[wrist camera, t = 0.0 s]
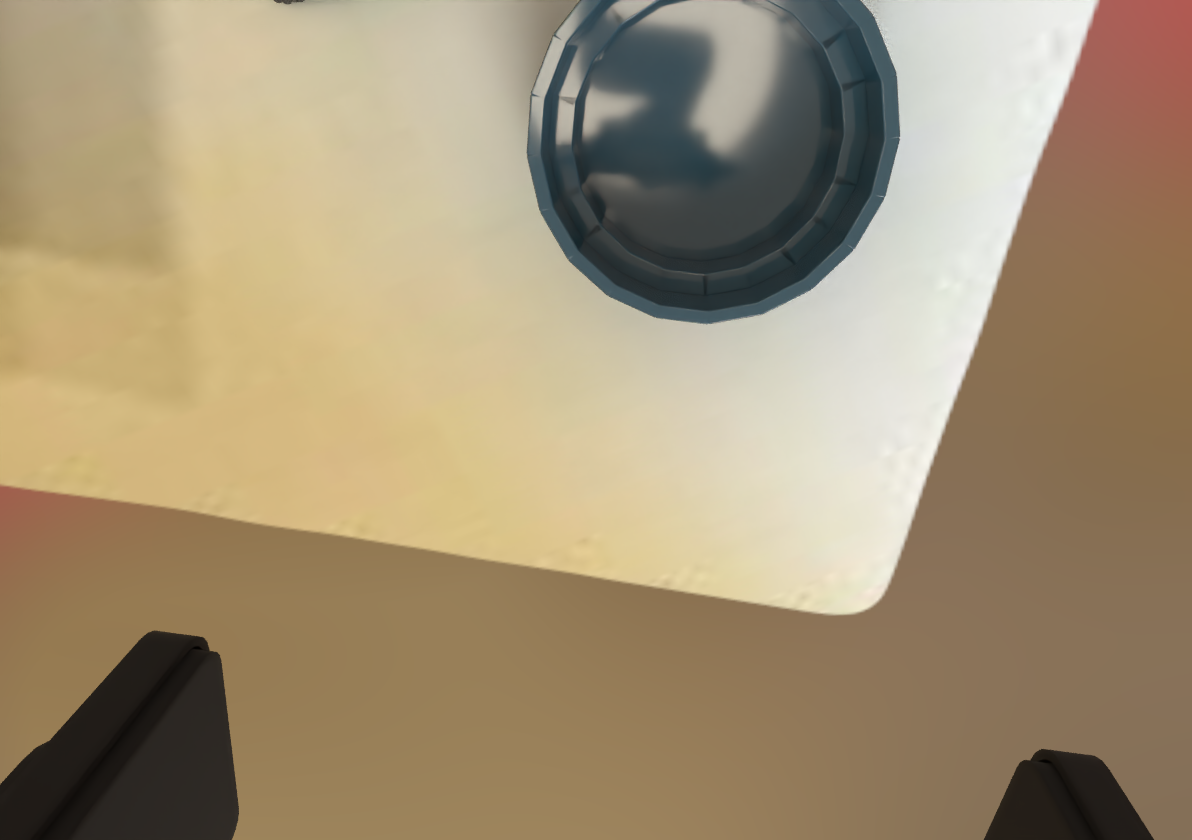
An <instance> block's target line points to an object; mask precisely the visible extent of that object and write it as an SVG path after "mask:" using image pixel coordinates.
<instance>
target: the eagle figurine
mask: <svg viewBox="0 0 1192 840" xmlns="http://www.w3.org/2000/svg"><path fill="white" fill-rule="evenodd" d="M274 1H275V2H277V3H282V2H284V3H285V4H291V2H292V1H293V2H303V1H304V0H274Z"/></svg>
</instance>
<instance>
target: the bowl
mask: <svg viewBox="0 0 1192 840" xmlns="http://www.w3.org/2000/svg"><path fill="white" fill-rule="evenodd" d="M899 137H900V125H899V106H898V87H897V76H896V71H895V68H894V66H893V63H892V61H891V58H890V56H889V53H888V51H887V48H886V45H885V43H884V40H883V38H882V35H881V33H880V30H879V28H878V25H877V23H876V20H875V18H874V16H873V14H872V13H871V12H870V11H869V10H868V8H867V7H866V6H865V5H864V4H863V3H862V2H861V1H860V0H580V1H579V2H578V3H577V5H576V6H575V7H574V9H573V10H572V11H571V12H570V14H569V15H568V16H567V17H566V19H565V20H564V21H563V23H562V24H561V25H560V26H559V28H558V29H557V30H556V31H555V33H554V35H553V36H552V39H551V41H550V44H549V47H548V49H547V52H546V55H545V57H544V60H543V62H542V65H541V68H540V70H539V73H538V76H537V78H536V81H535V84H534V86H533V89H532V91H531V96H530V111H529V126H528V141H527V159H528V163H529V167H530V172H531V176H532V180H533V185H534V189H535V193H536V197H537V202H538V206H539V210H540V211H541V215H542V216H543V218H544V220H545V221H546V223H547V225H548V227H549V228H550V230H551V232H552V233H553V235H554V237H555V239H556V240H557V242H558V244H559V245H560V247H561V249H562V250H563V252H564V254H565V256H566V257H567V259H569V261H570V262H571V263H572V264H573V265H574V266H575V267H576V268H577V269H578V270H580V271H581V272H582V273H583V274H584V275H585V276H586V277H587V278H588V279H589V280H591V281H592V282H593V283H594V284H595V285H596V286H597V287H598V288H599V289H600V290H602V291H603V292H604V293H605V294H606V295H608V296H609V297H611V298H613V299H615V300H618V301H620V302H622V303H624V304H626V305H629V306H631V307H633V308H635V309H637V310H639V311H642V312H644V313H646V314H648V315H650V316H653V317H656V318H660V319H668V320H676V321H684V322H692V323H700V324H713V323H719V322H724V321H730V320H736V319H741V318H747V317H752V316H758V315H761V314H764V313H766V312H768V311H770V310H772V309H774V308H776V307H778V306H780V305H782V304H784V303H786V302H788V301H790V300H792V299H794V298H796V297H798V296H800V295H802V294H804V293H806V292H808V291H810V290H811V289H813V288H814V287H815V286H816V285H817V284H818V283H819V282H820V281H821V280H822V279H823V278H824V277H826V276H827V275H828V274H829V273H830V272H831V271H832V270H833V269H834V268H835V267H836V266H837V265H838V264H839V263H841V262H842V261H843V260H844V259H845V258H846V257H847V256H848V255H849V254H850V253H851V252H852V251H853V249H855V247H856V246H857V244H858V242H859V241H860V239H861V237H862V236H863V234H864V232H865V231H866V229H867V227H868V226H869V224H870V222H871V220H872V219H873V217H874V215H875V214H876V212H877V210H878V209H879V207H880V205H881V204H882V202H883V200H884V197H885V196H886V192H887V188H888V184H889V180H890V176H891V172H892V168H893V164H894V160H895V156H896V152H897V148H898V144H899V140H900V139H899Z"/></svg>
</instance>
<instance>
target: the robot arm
mask: <svg viewBox="0 0 1192 840" xmlns="http://www.w3.org/2000/svg"><path fill="white" fill-rule="evenodd" d="M238 815H239V806H238V798H237V789H236V781H235V772H234V764H233V755H232V747H231V739H230V730H229V722H228V713H227V706H226V697H225V689H224V680H223V672H222V663H221V658H220V655H219V654H218V653H217V652H213V651H209V647H208V643H207V641H206V640H205V639H204V638H203V637H198V636H191V635H183V634H176V633H168V632H160V631H152V632H149V633H147V634H146V635H145V636H144V637H143V638H141V639H140V640H139V641H138V643H137V644H136V645H135V646H134V647H133V648H132V649H131V650H130V652H129V653H128V654H127V655H126V656H125V657H124V658H123V659H122V660H121V662H120V663H119V664H118V665H117V666H116V667H115V668H114V669H113V671H112V672H111V673H110V674H109V675H108V676H107V677H106V678H105V679H104V681H103V682H102V683H101V684H100V685H99V686H98V687H97V688H96V690H95V691H94V692H93V693H92V694H91V695H90V696H89V697H88V698H87V699H86V701H85V702H84V703H83V704H82V705H81V706H80V707H79V709H78V710H77V711H76V712H75V713H74V714H73V715H72V716H71V717H70V718H69V720H68V721H67V722H66V723H65V724H64V725H63V726H62V727H61V729H60V730H59V731H58V732H57V733H56V734H55V735H54V736H53V738H52V739H51V740H50V741H48V742H46V743H44V744H42V745H40V746H38V747H37V748H35V749H34V750H33V751H32V752H31V753H30V754H29V755H28V756H26V757H25V758H24V759H23V760H22V761H21V762H20V763H19V765H18V766H17V767H16V768H15V769H14V770H13V771H12V772H11V773H10V774H9V775H8V777H7V778H6V779H5V780H4V781H3V782H2V783H1V785H0V840H232V838H233V835H234V832H235V830H236V826H237V821H238ZM984 840H1154V839H1153V837H1152V836H1151V834H1150V833H1149V831H1148V830H1147V828H1146V826H1145V825H1144V823H1143V822H1142V821H1141V819H1140V817H1139V815H1138V814H1137V812H1136V811H1135V809H1134V808H1133V806H1132V805H1131V803H1130V802H1129V800H1128V798H1127V797H1126V795H1125V794H1124V792H1123V790H1122V789H1121V787H1120V786H1119V784H1118V783H1117V781H1116V780H1115V778H1114V776H1113V775H1112V773H1111V772H1110V770H1109V769H1108V767H1107V766H1106V765H1105V764H1104V762H1103V761H1102V760H1100V759H1099V758H1097V757H1095V756H1092V755H1084V754H1077V753H1069V752H1061V751H1054V750H1046V749H1041V750H1039V751H1037V752H1036V753H1035V754H1034V755H1033V757H1032V759H1031V760H1030V761H1029V760H1024V761H1022V762H1020V764H1019V765H1018V767H1017V768H1016V771H1015V773H1014V775H1013V777H1012V779H1011V782H1010V784H1009V786H1008V788H1007V790H1006V792H1005V795H1004V797H1003V799H1002V801H1001V803H1000V806H999V808H998V810H997V812H996V814H995V816H994V819H993V821H992V823H991V825H990V827H989V830H988V832H987V834H986V836H985V838H984Z"/></svg>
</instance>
